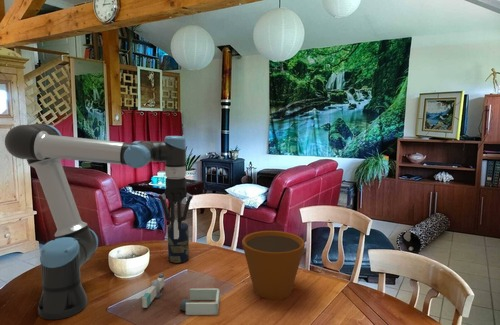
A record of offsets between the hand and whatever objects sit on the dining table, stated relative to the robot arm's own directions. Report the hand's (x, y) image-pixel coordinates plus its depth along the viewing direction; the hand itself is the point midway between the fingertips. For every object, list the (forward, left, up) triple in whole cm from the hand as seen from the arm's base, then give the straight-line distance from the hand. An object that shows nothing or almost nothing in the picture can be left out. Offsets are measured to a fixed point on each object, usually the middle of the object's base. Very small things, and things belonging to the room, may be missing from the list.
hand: (176, 237), depth 136 cm
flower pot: (+37, -2, -21) cm, 42 cm away
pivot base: (-7, -6, -20) cm, 22 cm away
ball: (+6, -17, -20) cm, 27 cm away
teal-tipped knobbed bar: (-7, -8, -19) cm, 22 cm away
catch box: (+12, -14, -20) cm, 27 cm away
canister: (-4, +27, -21) cm, 34 cm away
